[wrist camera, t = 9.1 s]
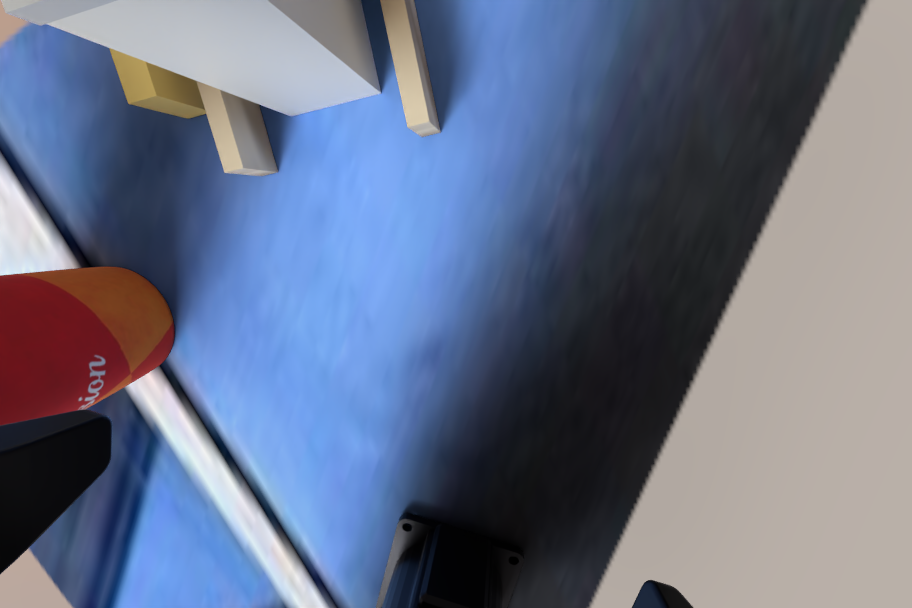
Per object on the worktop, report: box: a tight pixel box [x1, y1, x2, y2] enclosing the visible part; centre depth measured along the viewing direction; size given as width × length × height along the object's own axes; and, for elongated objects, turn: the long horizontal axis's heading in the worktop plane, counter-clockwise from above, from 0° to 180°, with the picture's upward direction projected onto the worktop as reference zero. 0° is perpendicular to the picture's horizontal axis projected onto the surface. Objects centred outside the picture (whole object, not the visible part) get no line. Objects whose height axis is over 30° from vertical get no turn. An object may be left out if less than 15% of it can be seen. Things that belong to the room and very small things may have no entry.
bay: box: [196, 0, 441, 176], centre depth 16 cm, size 8×8×2 cm
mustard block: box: [109, 48, 206, 119], centre depth 17 cm, size 3×1×3 cm, turn 12°
